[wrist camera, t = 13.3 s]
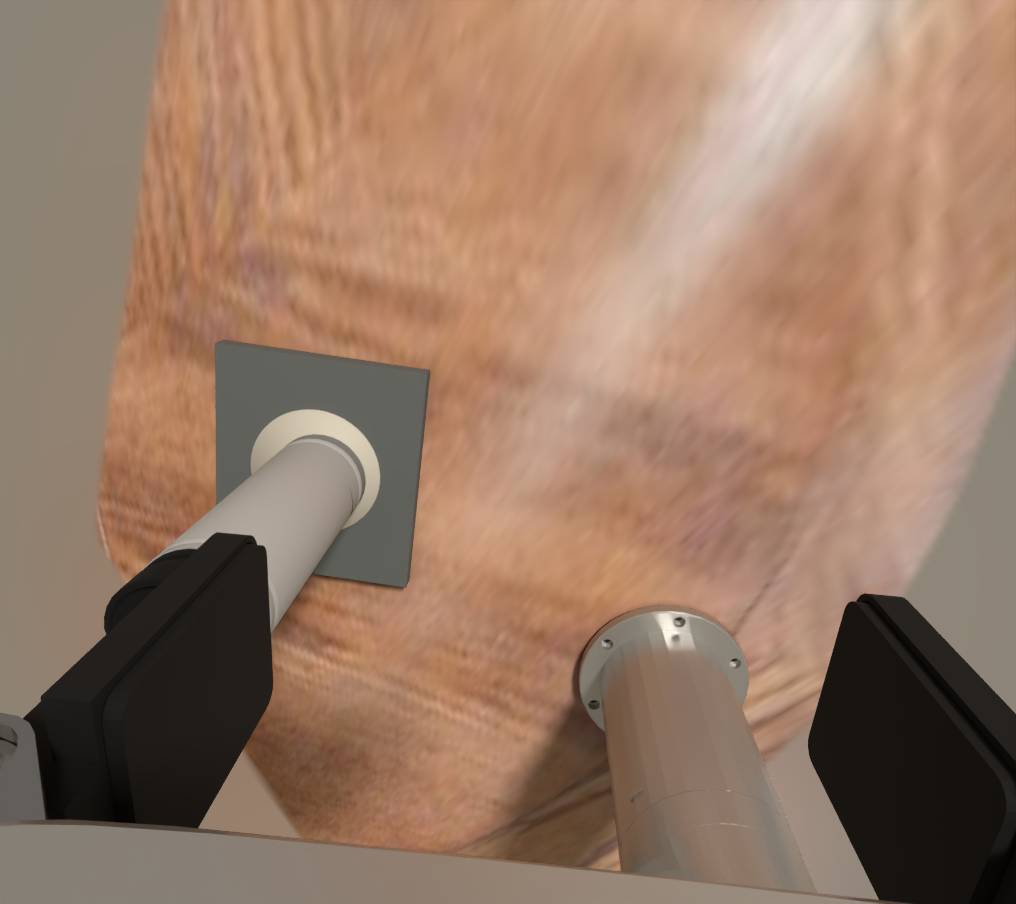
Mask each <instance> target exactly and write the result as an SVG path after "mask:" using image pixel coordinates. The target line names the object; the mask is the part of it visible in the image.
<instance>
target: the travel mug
mask: <svg viewBox="0 0 1016 904" xmlns="http://www.w3.org/2000/svg"><path fill="white" fill-rule="evenodd" d="M365 485H366V481H365V473H364V469H363V466H362V464H361V462H360V460H359V458H358V457H357V455H356V454H355V453H354V452H353V451H352V450H351V449H350V448H349V447H348V446H347V445H346V444H344V443H343V442H341V441H340V440H337V439H335V438H333V437H330V436H326V435H318V434H312V435H305V436H302V437H299V438H297V439H295V440H293V441H292V442H290V443H289V444H288V445H286V446H285V447H284V448H283V449H282V450H281V451H279V452H278V453H277V454H276V455H275V456H274V457H272V458H271V459H270V460H269V461H268V462H266V463H265V464H264V465H263V466H262V467H261V468H259V469H258V470H257V471H256V472H255V473H254V474H252V475H251V476H250V477H249V478H248V479H247V480H245V481H244V482H243V483H242V484H241V485H240V486H238V487H237V488H236V489H235V490H234V491H233V492H231V493H230V494H229V495H228V496H227V497H225V498H224V499H223V500H222V501H221V502H220V503H218V504H217V505H216V506H215V507H214V508H213V509H211V510H210V511H209V512H208V513H207V514H206V515H204V516H203V517H202V518H201V519H200V520H199V521H197V522H196V523H195V524H194V525H193V526H192V527H190V528H189V529H188V530H187V531H186V532H184V533H183V534H182V535H181V536H180V537H179V538H177V539H176V540H175V541H174V542H173V543H172V544H170V545H169V546H168V547H167V548H166V549H165V550H164V551H162V552H161V553H160V554H159V555H158V556H156V557H155V558H154V559H153V560H152V561H151V562H150V563H149V564H148V565H147V566H146V567H145V569H144V570H143V571H141V572H140V573H139V574H137V575H136V576H135V577H134V578H133V579H132V580H130V581H129V582H128V583H127V584H126V585H125V586H123V587H122V588H121V589H120V590H119V591H118V592H117V593H116V594H115V595H114V596H113V597H112V598H111V600H110V602H109V604H108V605H107V608H106V612H105V616H104V629H105V632H106V634H108V633H109V632H110V631H111V630H112V629H113V628H114V627H115V626H116V625H117V624H118V623H119V622H120V621H121V620H123V619H124V618H125V617H126V616H127V615H128V614H129V613H130V612H131V611H132V610H133V609H134V608H135V607H136V606H137V605H138V604H140V603H141V602H142V601H143V600H144V599H145V598H146V597H147V596H148V595H149V594H150V593H151V592H152V591H153V590H154V589H155V588H157V587H158V586H159V585H160V584H161V583H162V582H163V581H164V580H165V579H166V578H167V577H168V576H169V575H170V574H171V573H172V572H173V571H175V570H176V569H177V568H178V567H179V566H180V565H181V564H182V563H183V562H184V561H185V560H186V559H187V558H188V557H189V556H190V555H192V554H193V553H194V552H195V551H196V550H197V549H198V548H199V547H200V546H201V545H202V544H203V543H204V542H205V541H206V540H207V539H209V538H210V537H211V536H212V535H213V534H215V533H216V532H221V533H231V534H242V535H252V536H253V537H254V538H255V540H256V542H257V545H263V546H264V547H265V548H266V551H267V565H268V586H269V607H270V628H271V633H272V631H273V630H274V629H275V627H276V626H277V624H278V623H279V621H280V620H281V618H282V617H283V615H284V614H285V612H286V611H287V609H288V608H289V606H290V605H291V603H292V602H293V600H294V599H295V597H296V596H297V594H298V593H299V591H300V590H301V588H302V587H303V585H304V584H305V583H306V581H307V580H308V578H309V577H310V575H311V574H312V572H313V571H314V569H315V568H316V566H317V565H318V563H319V562H320V560H321V559H322V557H323V556H324V554H325V553H326V551H327V550H328V548H329V547H330V545H331V544H332V542H333V541H334V539H335V538H336V536H337V535H338V533H339V532H340V531H341V529H342V528H343V526H344V525H345V523H346V522H347V520H348V519H349V517H350V516H351V514H352V513H353V511H354V510H355V508H356V507H357V505H358V504H359V502H360V501H361V499H362V497H363V494H364V491H365Z"/></svg>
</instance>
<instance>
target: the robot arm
mask: <svg viewBox="0 0 1016 904" xmlns="http://www.w3.org/2000/svg"><path fill="white" fill-rule="evenodd" d="M677 617H678V618H677ZM606 639H607V640H606ZM748 684H749V679H748V667H747V664H746V660H745V657H744V655H743V653H742V650H741V648H740V646H739V644H738V642H737V641H736V640H735V638H734V637H733V635H732V634H731V633H730V632H729V631H728V630H727V629H726V628H725V627H724V626H723V625H722V624H721V623H720V622H718V621H716V620H715V619H713V618H712V617H710V616H708V615H707V614H704V613H702V612H699V611H696V610H694V609H691V608H685V607H680V606H673V605H657V606H650V607H643V608H639V609H636V610H633V611H630V612H627V613H625V614H623V615H621V616H619V617H617V618H615V619H613V620H612V621H611V622H609V623H608V624H607V625H605V626H604V627H603V628H601V629H600V630H599V631H598V633H597V634H596V635H595V636H594V637H593V638H592V639H591V641H590V642H589V644H588V646H587V648H586V649H585V651H584V653H583V657H582V660H581V663H580V668H579V688H580V694H581V698H582V702H583V705H584V707H585V709H586V711H587V713H588V715H589V716H590V718H591V719H592V720H593V721H594V722H595V724H596V725H597V726H598V727H599V728H600V729H601V730H603V731H604V732H605V736H606V745H607V754H608V763H609V771H610V780H611V789H612V798H613V806H614V815H615V824H616V832H617V841H618V850H619V859H620V867H621V871H611V870H602V869H593V868H583V867H574V866H564V865H555V864H545V863H536V862H526V861H517V860H507V859H498V858H488V857H479V856H469V855H459V854H449V853H439V852H429V851H419V850H409V849H399V848H389V847H379V846H369V845H359V844H349V843H339V842H329V841H319V840H309V839H299V838H289V837H279V836H268V835H259V834H249V833H239V832H229V831H219V830H208V829H199V828H198V827H199V825H200V823H201V822H202V820H203V818H204V817H205V815H206V813H207V811H208V809H209V808H210V806H211V804H212V803H213V801H214V799H215V797H216V795H217V794H218V792H219V790H220V789H221V787H222V785H223V783H224V782H225V780H226V778H227V776H228V775H229V773H230V771H231V769H232V768H233V766H234V764H235V762H236V761H237V759H238V757H239V755H240V754H241V752H242V750H243V748H244V747H245V745H246V743H247V741H248V740H249V738H250V736H251V734H252V733H253V731H254V729H255V727H256V726H257V724H258V722H259V720H260V719H261V717H262V715H263V714H264V712H265V710H266V708H267V706H268V704H269V701H270V698H271V694H272V689H273V670H272V649H271V628H270V607H269V586H268V565H267V551H266V548H265V547H264V546H263V545H257V542H256V540H255V538H254V537H253V536H252V535H242V534H231V533H221V532H216V533H215V534H213V535H212V536H211V537H210V538H209V539H207V540H206V541H205V542H204V543H203V544H202V545H201V546H200V547H199V548H198V549H197V550H196V551H195V552H194V553H193V554H192V555H190V556H189V557H188V558H187V559H186V560H185V561H184V562H183V563H182V564H181V565H180V566H179V567H178V568H177V569H176V570H175V571H173V572H172V573H171V574H170V575H169V576H168V577H167V578H166V579H165V580H164V581H163V582H162V583H161V584H160V585H159V586H158V587H157V588H155V589H154V590H153V591H152V592H151V593H150V594H149V595H148V596H147V597H146V598H145V599H144V600H143V601H142V602H141V603H140V604H138V605H137V606H136V607H135V608H134V609H133V610H132V611H131V612H130V613H129V614H128V615H127V616H126V617H125V618H124V619H123V620H121V621H120V622H119V623H118V624H117V625H116V626H115V627H114V628H113V629H112V630H111V631H110V632H109V633H108V634H107V635H106V636H105V637H103V638H102V639H101V640H100V641H99V642H98V643H97V644H96V645H95V646H94V647H93V648H92V649H91V650H90V651H89V652H88V653H86V654H85V655H84V656H83V657H82V658H81V659H80V660H79V661H78V662H77V663H76V664H75V665H74V666H73V667H72V668H71V669H69V670H68V671H67V672H66V673H65V674H64V675H63V676H62V677H61V678H60V679H59V680H58V681H57V682H56V683H55V684H54V685H52V686H51V687H50V688H49V689H48V690H47V691H46V692H45V693H44V694H43V695H42V696H41V702H40V703H39V704H38V705H37V706H36V707H35V708H33V710H31V711H30V712H29V713H28V714H27V715H26V716H25V717H24V718H23V719H22V718H20V717H19V716H15V715H9V714H4V713H0V904H1016V714H1015V713H1014V712H1013V711H1012V710H1011V708H1009V706H1008V705H1007V704H1006V703H1005V702H1004V701H1003V700H1002V699H1001V698H1000V697H999V696H998V695H997V694H996V693H995V692H994V691H993V690H992V689H991V688H990V686H989V685H988V684H987V683H986V682H985V681H984V680H983V679H982V678H981V677H980V676H979V675H978V674H977V673H976V672H975V671H974V670H973V669H972V668H971V667H970V666H969V664H968V663H966V662H965V660H964V659H963V658H962V657H961V656H960V655H959V654H958V653H957V652H956V651H955V650H954V649H953V648H952V647H951V646H950V645H949V643H948V642H947V641H946V640H945V639H944V638H943V637H942V636H941V635H940V634H939V633H938V632H937V631H936V630H935V629H934V628H933V627H932V626H931V625H930V624H929V623H928V621H927V620H926V619H925V618H924V617H923V616H922V615H921V614H920V613H919V612H918V611H917V610H916V609H915V608H914V607H913V606H912V605H911V604H910V603H909V602H908V601H907V600H906V599H905V598H903V597H896V596H885V595H875V594H863V595H861V596H860V597H859V598H858V599H857V601H856V602H853V601H852V602H849V603H848V604H847V606H846V608H845V610H844V614H843V617H842V621H841V624H840V628H839V631H838V635H837V638H836V642H835V645H834V649H833V652H832V656H831V660H830V663H829V667H828V670H827V674H826V677H825V681H824V684H823V688H822V691H821V695H820V698H819V702H818V706H817V709H816V713H815V716H814V720H813V723H812V727H811V730H810V734H809V739H808V749H809V756H810V759H811V762H812V764H813V766H814V768H815V770H816V772H817V774H818V776H819V778H820V780H821V782H822V784H823V787H824V788H825V791H826V793H827V795H828V797H829V799H830V801H831V803H832V804H833V807H834V809H835V811H836V813H837V815H838V817H839V819H840V821H841V823H842V825H843V827H844V829H845V831H846V833H847V835H848V837H849V839H850V841H851V844H852V846H853V848H854V849H855V851H856V854H857V855H858V858H859V860H860V862H861V864H862V866H863V867H864V870H865V872H866V874H867V876H868V878H869V880H870V882H871V884H872V886H873V888H874V890H875V892H876V894H877V896H878V898H879V900H873V899H864V898H856V897H847V896H838V895H829V894H820V893H817V891H816V888H815V886H814V883H813V881H812V879H811V877H810V874H809V872H808V870H807V867H806V865H805V862H804V860H803V857H802V855H801V853H800V850H799V848H798V846H797V843H796V840H795V838H794V836H793V833H792V831H791V828H790V826H789V823H788V821H787V818H786V816H785V813H784V811H783V808H782V806H781V803H780V801H779V798H778V796H777V793H776V791H775V788H774V786H773V783H772V781H771V779H770V776H769V774H768V771H767V769H766V766H765V764H764V761H763V759H762V756H761V754H760V751H759V749H758V747H757V744H756V742H755V739H754V737H753V734H752V732H751V729H750V727H749V724H748V722H747V720H746V717H745V715H744V712H743V710H742V705H743V702H744V700H745V698H746V695H747V689H748Z"/></svg>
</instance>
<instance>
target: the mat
mask: <svg viewBox="0 0 1016 904" xmlns="http://www.w3.org/2000/svg"><path fill="white" fill-rule="evenodd" d="M215 370H216V497H217V504H218V503H220V502H221V501H222V500H223V499H224V498H225V497H227V496H228V495H229V494H230V493H231V492H233V491H234V490H235V489H236V488H237V487H238V486H240V485H241V484H242V483H243V482H244V481H245V480H247V479H248V478H249V477H250V476H251V475H252V474H254V473H255V472H256V471H257V470H258V469H259V468H261V467H262V466H263V465H264V464H265V463H266V462H268V461H269V460H270V459H271V458H272V457H274V456H275V455H276V454H277V453H278V452H279V451H281V450H282V449H283V448H284V447H285V446H286V445H288V444H289V443H290V442H292V441H293V440H295V439H297V438H299V437H302V436H305V435H312V434H318V435H326V436H330V437H333V438H335V439H337V440H340V441H341V442H343V443H344V444H346V445H347V446H348V447H349V448H350V449H351V450H352V451H353V452H354V453H355V454H356V455H357V457H358V458H359V460H360V462H361V464H362V466H363V469H364V473H365V481H366V485H365V491H364V494H363V497H362V499H361V501H360V502H359V504H358V505H357V507H356V508H355V510H354V511H353V513H352V514H351V516H350V517H349V519H348V520H347V522H346V523H345V525H344V526H343V528H342V529H341V531H340V532H339V533H338V535H337V536H336V538H335V539H334V541H333V542H332V544H331V545H330V547H329V548H328V550H327V551H326V553H325V554H324V556H323V557H322V559H321V560H320V562H319V563H318V565H317V566H316V568H315V569H314V571H313V572H312V574H319V575H325V576H332V577H339V578H345V579H352V580H359V581H366V582H372V583H379V584H386V585H392V586H399V587H407V584H408V582H409V578H410V568H411V558H412V548H413V538H414V528H415V518H416V508H417V498H418V488H419V478H420V468H421V458H422V448H423V438H424V428H425V418H426V408H427V398H428V388H429V378H430V370H425V369H418V368H412V367H405V366H398V365H391V364H384V363H378V362H371V361H364V360H357V359H350V358H343V357H337V356H330V355H323V354H316V353H309V352H303V351H296V350H289V349H282V348H275V347H269V346H262V345H255V344H248V343H241V342H234V341H228V340H222V341H219V342H216V343H215Z"/></svg>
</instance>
